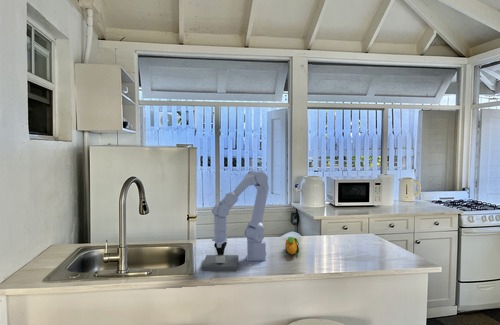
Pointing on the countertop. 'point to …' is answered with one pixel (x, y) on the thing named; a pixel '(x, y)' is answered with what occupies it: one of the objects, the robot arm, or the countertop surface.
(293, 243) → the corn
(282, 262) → the countertop surface
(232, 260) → the panel
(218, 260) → the fader
